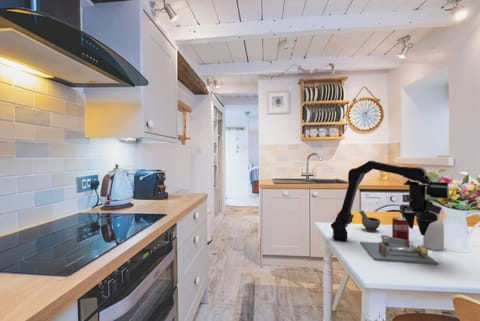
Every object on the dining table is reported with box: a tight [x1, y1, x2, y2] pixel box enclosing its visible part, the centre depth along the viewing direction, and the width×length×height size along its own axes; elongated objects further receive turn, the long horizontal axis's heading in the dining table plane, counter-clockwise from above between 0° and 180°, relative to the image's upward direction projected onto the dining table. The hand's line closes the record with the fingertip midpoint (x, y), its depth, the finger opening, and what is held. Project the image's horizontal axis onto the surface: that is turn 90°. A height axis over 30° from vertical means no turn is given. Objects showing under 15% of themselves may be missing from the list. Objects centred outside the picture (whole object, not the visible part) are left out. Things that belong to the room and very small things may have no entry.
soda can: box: [391, 216, 410, 241], centre depth 125 cm, size 7×7×12 cm
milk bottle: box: [422, 211, 445, 252], centre depth 115 cm, size 8×8×20 cm
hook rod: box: [386, 245, 429, 257], centre depth 104 cm, size 15×4×4 cm, turn 79°
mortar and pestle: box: [359, 210, 381, 233], centre depth 142 cm, size 11×9×12 cm
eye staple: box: [378, 241, 386, 257], centre depth 106 cm, size 1×5×6 cm, turn 168°
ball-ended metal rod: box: [380, 234, 410, 247], centre depth 115 cm, size 12×4×4 cm, turn 51°
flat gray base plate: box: [359, 241, 439, 266], centre depth 109 cm, size 24×20×1 cm
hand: (416, 231), depth 103 cm, fingers open, 9 cm apart
